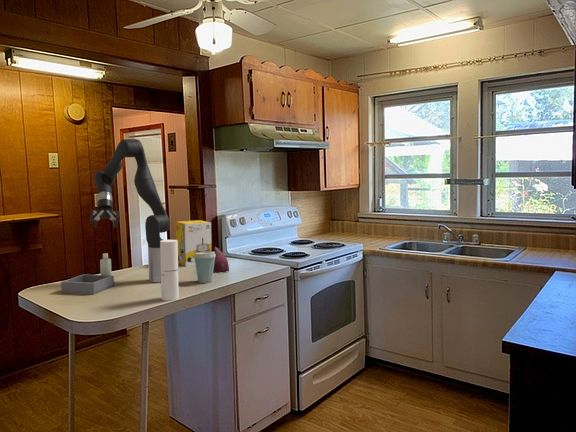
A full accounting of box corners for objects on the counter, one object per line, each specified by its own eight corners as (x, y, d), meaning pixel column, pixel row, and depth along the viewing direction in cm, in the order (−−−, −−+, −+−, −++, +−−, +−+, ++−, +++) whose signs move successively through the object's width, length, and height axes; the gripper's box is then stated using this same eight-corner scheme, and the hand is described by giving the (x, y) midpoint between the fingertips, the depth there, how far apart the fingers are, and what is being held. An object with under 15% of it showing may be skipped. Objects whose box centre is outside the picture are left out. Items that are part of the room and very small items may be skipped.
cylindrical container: (174, 301, 189) (172, 242, 187) (158, 300, 190) (157, 241, 188) (181, 296, 196) (180, 239, 194) (166, 295, 197) (165, 239, 195)
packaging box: (185, 266, 261) (184, 223, 259) (176, 262, 274) (175, 221, 272) (211, 263, 270) (211, 222, 267) (201, 259, 283) (200, 220, 281)
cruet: (113, 280, 226) (112, 252, 225) (108, 282, 221) (107, 254, 220) (104, 279, 227) (103, 252, 226) (98, 282, 222) (97, 254, 221)
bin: (113, 285, 215) (113, 275, 214) (94, 294, 199) (93, 283, 199) (83, 284, 218) (83, 274, 217) (61, 292, 202) (61, 281, 201)
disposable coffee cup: (190, 283, 220) (189, 253, 219) (201, 278, 231) (201, 249, 229) (209, 284, 217) (208, 254, 215) (219, 280, 227) (219, 250, 226)
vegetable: (208, 277, 247) (200, 251, 245) (218, 271, 256) (210, 246, 255) (224, 274, 243) (216, 248, 241) (233, 268, 252) (225, 243, 250)
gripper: (90, 197, 234) (90, 223, 226) (119, 198, 240) (120, 223, 231) (90, 205, 240) (90, 231, 231) (118, 206, 246) (119, 231, 237)
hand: (105, 227), depth 231 cm, fingers open, 8 cm apart
